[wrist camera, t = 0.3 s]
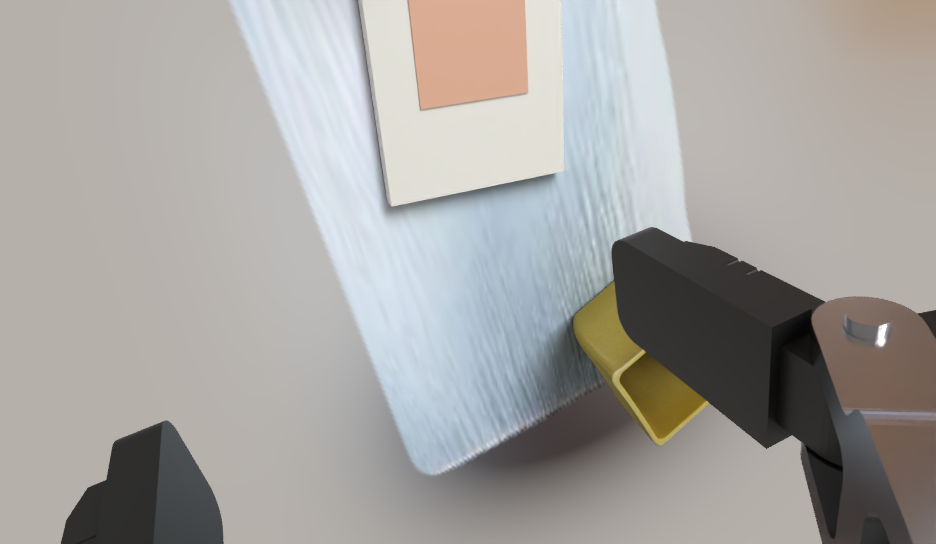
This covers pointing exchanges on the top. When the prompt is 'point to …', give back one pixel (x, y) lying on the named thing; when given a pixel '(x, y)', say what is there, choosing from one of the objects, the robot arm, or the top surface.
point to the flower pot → (634, 371)
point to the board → (464, 92)
